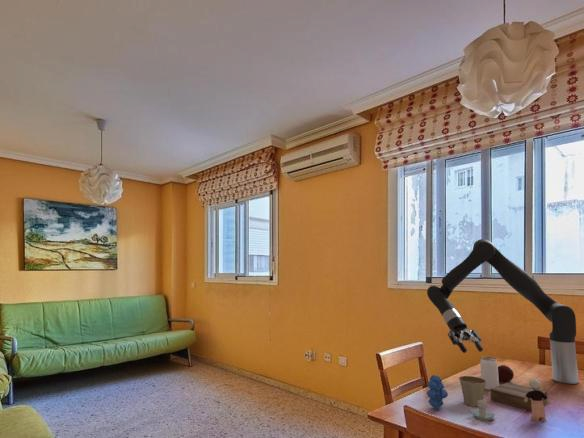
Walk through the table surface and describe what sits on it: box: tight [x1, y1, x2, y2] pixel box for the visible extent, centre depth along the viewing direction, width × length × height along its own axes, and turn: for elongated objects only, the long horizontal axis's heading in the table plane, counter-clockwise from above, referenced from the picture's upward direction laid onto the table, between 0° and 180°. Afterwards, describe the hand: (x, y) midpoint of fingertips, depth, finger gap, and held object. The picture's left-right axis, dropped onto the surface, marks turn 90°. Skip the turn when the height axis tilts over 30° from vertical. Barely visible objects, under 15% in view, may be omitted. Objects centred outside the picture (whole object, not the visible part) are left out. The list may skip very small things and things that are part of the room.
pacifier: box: [470, 399, 496, 422], centre depth 128 cm, size 7×6×6 cm
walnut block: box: [489, 382, 548, 412], centre depth 143 cm, size 14×14×4 cm
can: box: [480, 356, 500, 391], centre depth 159 cm, size 6×6×12 cm
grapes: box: [426, 374, 449, 411], centre depth 135 cm, size 12×7×12 cm, turn 139°
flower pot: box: [458, 375, 487, 407], centre depth 141 cm, size 9×9×9 cm
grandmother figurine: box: [524, 378, 551, 422], centre depth 127 cm, size 8×4×13 cm, turn 92°
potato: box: [498, 364, 515, 383], centre depth 169 cm, size 7×8×7 cm
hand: (473, 351), depth 168 cm, fingers open, 8 cm apart
